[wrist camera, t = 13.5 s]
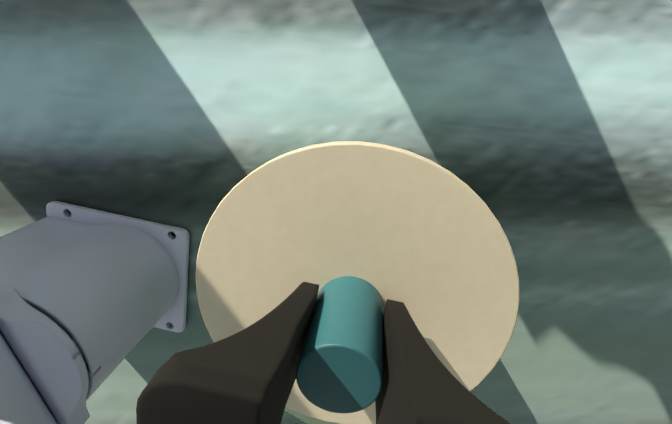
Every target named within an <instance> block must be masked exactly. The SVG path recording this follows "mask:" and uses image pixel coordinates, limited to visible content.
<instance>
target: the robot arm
mask: <svg viewBox="0 0 672 424" xmlns="http://www.w3.org/2000/svg"><path fill="white" fill-rule="evenodd" d="M68 210H69V211H70V212H71V214H70V213H69V211H68ZM46 213H47V217H45V218H43V219H41V220H38V221H36V222H34V223H31V224H29V225H27V226H25V227H22V228H20V229H18V230H15V231H13V232H11V233H9V234H6V235H4V236H2V237H0V424H84V423H85V422H86V420H87V419H88V418H89V417H90V415H89V412H88V410H87V408H86V400H87V399H88V398H89V397H90V396H91V395H92V394H93V393H94V391H95V390H96V389H97V388H98V387H99V386H100V385H101V384H102V383H103V381H104V380H105V379H106V378H107V377H108V376H109V375H110V374H111V373H112V371H113V370H114V369H115V368H116V367H117V366H118V365H119V364H120V363H121V362H122V360H123V359H124V358H125V357H126V356H127V355H128V354H129V353H130V352H131V350H132V349H133V348H134V347H135V346H136V345H137V344H138V343H139V342H140V340H141V339H142V338H143V337H144V336H145V335H146V334H147V333H148V332H149V331H150V329H151V328H152V327H155V328H159V329H164V330H168V331H172V332H177V333H180V332H182V331H183V330H184V329H185V327H186V311H187V287H188V263H189V239H190V236H189V233H188V231H187V230H186V229H183V228H180V227H175V226H170V225H166V224H161V223H157V222H152V221H147V220H143V219H138V218H133V217H129V216H124V215H119V214H115V213H110V212H105V211H101V210H96V209H91V208H87V207H82V206H77V205H73V204H68V203H63V202H59V201H52V202H50V203H48V204H47V205H46ZM171 232H173V233H175V235H176V237H174V236H172V234H171ZM318 290H319V285H318V284H313V283H308V282H302V283H301V284H300V285H299V286H298V287H297V288H296V289H295V290H294V291H293V292H292V293H291V294H290V295H289V296H288V297H287V298H286V299H285V300H284V301H283V302H282V303H280V304H279V305H278V306H277V307H276V308H274V309H273V310H272V311H271V312H269V313H268V314H267V315H265V316H264V317H263V318H261V319H260V320H258V321H257V322H255V323H254V324H252V325H250V326H249V327H247V328H245V329H243V330H242V331H240V332H237V333H235V334H233V335H231V336H229V337H227V338H225V339H222V340H219V341H217V342H214V343H211V344H208V345H206V346H202V347H199V348H195V349H191V350H187V351H184V352H180V353H175V354H173V355H172V357H171V358H170V359H169V360H168V361H167V362H166V363H165V364H164V365H163V366H162V367H161V368H160V369H159V370H158V371H157V373H156V374H155V375H154V377H153V378H152V379H151V381H150V382H149V383H148V385H147V386H146V387H145V389H144V390H143V391H142V393H141V395H140V397H139V398H138V401H137V408H136V413H137V424H280V423H281V420H282V416H283V413H284V410H285V406H286V403H287V401H288V398H289V395H290V393H291V390H292V388H293V385H294V382H295V380H296V368H297V364H298V360H299V357H300V354H301V350H302V347H303V344H304V340H305V337H306V333H307V330H308V327H309V324H310V321H311V318H312V315H313V311H314V308H315V304H316V301H317V296H318ZM169 322H170V323H172V324H173V325H171V324H170V323H169ZM375 407H376V424H511V423H509V422H508V421H506V420H505V419H503V418H502V417H501V416H499V415H498V414H496V413H495V412H494V411H492V410H491V409H490V408H489V407H487V406H486V405H485V404H484V403H482V402H481V401H480V400H479V399H477V398H476V397H475V396H474V395H473V394H472V393H471V392H469V391H468V390H467V389H466V388H465V387H464V386H463V385H462V384H461V383H460V382H459V381H458V380H457V379H456V378H455V377H454V376H453V375H452V374H451V373H450V372H449V370H448V369H447V368H446V367H445V366H444V365H443V364H442V362H441V361H440V360H439V359H438V357H437V356H436V355H435V354H434V352H433V351H432V349H431V348H430V347H429V345H428V344H427V342H426V341H425V339H424V338H423V336H422V334H421V333H420V331H419V330H418V328H417V326H416V324H415V323H414V321H413V319H412V317H411V315H410V314H409V312H408V310H407V308H406V306H405V304H404V303H403V302H399V301H394V300H390V299H387V301H386V305H385V309H384V313H383V385H382V389H381V392H380V394H379V396H378V398H377V399H376V400H375Z"/></svg>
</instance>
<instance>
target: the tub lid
mask: <svg viewBox="0 0 672 424" xmlns="http://www.w3.org/2000/svg"><path fill="white" fill-rule="evenodd" d="M195 274H196V292H197V298H198V303H199V308H200V311H201V314H202V317H203V321H204V324H205V326H206V328H207V330H208V332H209V334H210V336H211V339H212V340H213V342H217V341H219V340H222V339H225V338H227V337H229V336H231V335H233V334H235V333H237V332H240V331H242V330H243V329H245V328H247V327H249V326H250V325H252V324H254V323H255V322H257V321H258V320H260V319H261V318H263V317H264V316H265V315H267V314H268V313H269V312H271V311H272V310H273V309H274V308H276V307H277V306H278V305H279V304H280V303H282V302H283V301H284V300H285V299H286V298H287V297H288V296H289V295H290V294H291V293H292V292H293V291H294V290H295V289H296V288H297V287H298V286H299V285H300V284H301V283H302V282H308V283H313V284H318V285H319V290H318V296H317V301H316V304H315V308H314V311H313V315H312V318H311V321H310V324H309V327H308V330H307V333H306V337H305V340H304V344H303V347H302V350H301V354H300V357H299V360H298V364H297V368H296V380H295V382H294V385H293V388H292V390H291V393H290V395H289V398H288V401H287V403H286V406H285V407H286V408H288V409H290V410H293V411H296V412H298V413H301V414H303V415H306V416H309V417H313V418H316V419H320V420H323V421H328V422H334V423H339V424H376V407H375V400H376V399H377V398H378V396H379V394H380V392H381V389H382V385H383V313H384V309H385V305H386V301H387V299H390V300H394V301H399V302H403V303H404V304H405V306H406V308H407V310H408V312H409V314H410V315H411V317H412V319H413V321H414V323H415V324H416V326H417V328H418V330H419V331H420V333H421V334H422V336H423V338H424V339H425V341H426V342H427V344H428V345H429V347H430V348H431V349H432V351H433V352H434V354H435V355H436V356H437V357H438V359H439V360H440V361H441V362H442V364H443V365H444V366H445V367H446V368H447V369H448V370H449V372H450V373H451V374H452V375H453V376H454V377H455V378H456V379H457V380H458V381H459V382H460V383H461V384H462V385H463V386H464V387H465V388H466V389H467V390H468V391H469V392H470V391H471V390H472V389H474V388H475V387H476V386H477V385H478V384H480V383H481V381H482V380H483V379H484V378H485V377H486V376H487V375H488V374H489V373H490V372H491V371H492V369H493V368H494V367H495V365H496V364H497V362H498V361H499V359H500V358H501V356H502V355H503V353H504V351H505V349H506V347H507V345H508V343H509V341H510V339H511V336H512V333H513V330H514V327H515V324H516V320H517V314H518V308H519V301H520V297H519V276H518V270H517V264H516V260H515V257H514V254H513V251H512V248H511V245H510V242H509V240H508V238H507V236H506V234H505V232H504V231H503V229H502V227H501V225H500V223H499V221H498V220H497V219H496V217H495V216H494V215H493V213H492V212H491V210H490V209H489V208H488V206H487V205H486V204H485V202H484V201H483V200H482V199H481V198H480V197H479V196H478V195H477V194H476V193H475V192H474V191H473V190H472V189H471V188H470V187H469V186H468V185H467V184H466V183H465V182H463V181H462V180H461V179H459V178H458V177H457V176H455V175H454V174H453V173H451V172H450V171H449V170H447V169H445V168H443V167H442V166H440V165H438V164H436V163H435V162H433V161H431V160H429V159H427V158H425V157H422V156H420V155H417V154H415V153H412V152H410V151H407V150H404V149H400V148H396V147H392V146H388V145H384V144H377V143H369V142H361V141H343V142H329V143H322V144H315V145H310V146H307V147H303V148H300V149H296V150H293V151H290V152H288V153H285V154H283V155H281V156H279V157H276V158H274V159H272V160H270V161H268V162H267V163H265V164H263V165H262V166H260V167H259V168H257V169H255V170H254V171H252V172H251V173H250V174H248V175H247V176H246V177H245V178H244V179H243V180H241V181H240V182H239V183H238V184H237V185H235V186H234V187H233V188H232V189H231V191H230V192H229V193H228V194H227V195H226V196H225V197H224V199H223V200H222V201H221V202H220V203H219V205H218V207H217V208H216V210H215V211H214V213H213V214H212V216H211V218H210V219H209V222H208V224H207V226H206V228H205V231H204V233H203V235H202V239H201V242H200V246H199V250H198V254H197V262H196V271H195Z"/></svg>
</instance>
